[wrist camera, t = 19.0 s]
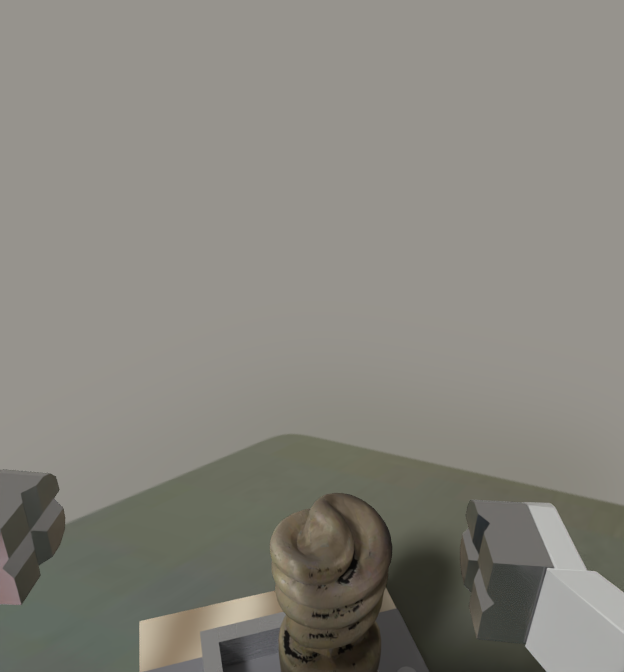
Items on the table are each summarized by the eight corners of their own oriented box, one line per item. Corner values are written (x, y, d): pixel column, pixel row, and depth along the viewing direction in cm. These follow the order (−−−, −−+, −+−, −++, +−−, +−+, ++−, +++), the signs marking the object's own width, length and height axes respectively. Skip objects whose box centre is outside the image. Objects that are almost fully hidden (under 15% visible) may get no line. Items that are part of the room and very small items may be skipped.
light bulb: (303, 803, 27) (310, 585, 20) (255, 704, 31) (248, 499, 25) (392, 739, 29) (421, 530, 23) (336, 657, 34) (349, 461, 27)
